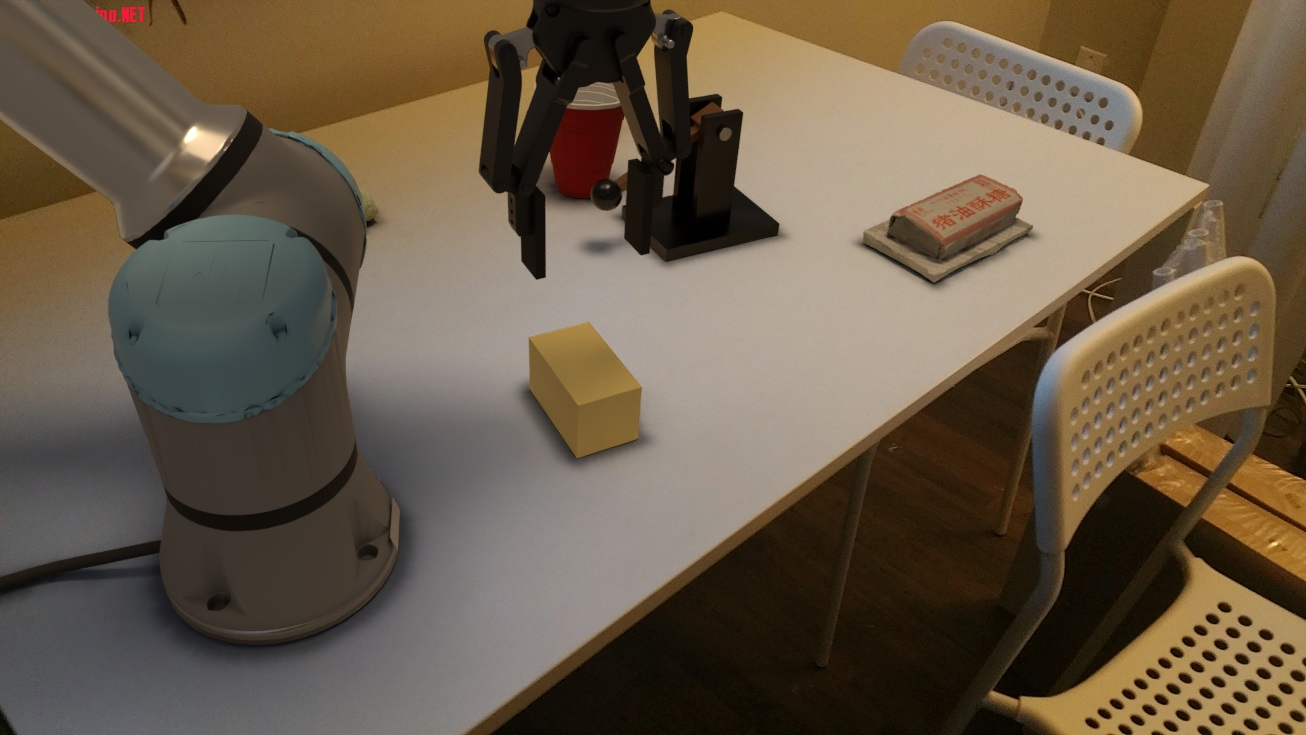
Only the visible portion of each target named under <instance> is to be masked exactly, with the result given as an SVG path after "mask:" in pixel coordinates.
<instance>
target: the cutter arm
mask: <svg viewBox="0 0 1306 735" xmlns="http://www.w3.org/2000/svg"><path fill="white" fill-rule="evenodd" d="M722 111H725V110H724V109H723V108H722V107H721V108H720V107H719V106H717V105H716V104H715V103H713V102H711V103H710V104H708V105H707V106H706V107H704V108H703V109H701V110H700V111H698V112H697V113H695V114H694V115H693V116H691V120H692V122H693V124H694V126H692V127H691V144H692V143H694V142H695V141H697V140H698V139H699V133H700V123H701V115H704V114H710V113H716V112H722ZM627 173H628V171H626V172H625V173H623V174H622V175H621V176H618V178H616V179H615V180H614V179H611V178H609V179H601V180H599V181H597V182H596V183H595V184H594V185H593V187H592V189H591V193H590V196H591V198H590V201H591V203H592V204H593V206H594V207H595V208H596V209H598V210H600V211H602V212H610V211H613V210H615V209H616V208H618V207H619V206H620V204H621V202H622V200H623V193H624V192H626V191H627Z"/></svg>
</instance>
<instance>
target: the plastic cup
mask: <svg viewBox="0 0 1306 735" xmlns="http://www.w3.org/2000/svg"><path fill="white" fill-rule="evenodd" d="M558 80H560V78H559V77H558ZM535 89H536V82H535V83H533V91H534V92H535ZM534 92H533V93H534ZM624 120H625V115H624V112H623V110H622V107H621V104H620V102H619V99H618V96H617V93H616V91H615V88H614V85H613V83H602V82H596V83H594V84H592V85H589V86H587V87H581V88H578V91H577V93H576V96H575V99H574V101H573V102H572V103H571V104H569V105H568V106H567V108H566V110H565V113H564V115H563V118H562V120H561V123H560V126H559V128H558V131H557V133H556V136H555V139H554V141H553V144H552V146H551V149H550V151H549V157H550V163H551V164H552V169H553V170H552V171H553V175H554V176H553V177H554V182H555V184H556V188H557V190H558V191H559V192H560V193H561V194H563V195H564V196H567V197H570V198H575V199H591V196H590V193H591V189H592V187H593V185H594V184H595V183H596V182H597V181H599V180H601V179H610V177H611V172H612V168H613V164H614V163H615V158H616V153H617V149H618V145H619V139H620V134H621V131H622V126H623V122H624Z"/></svg>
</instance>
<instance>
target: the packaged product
mask: <svg viewBox="0 0 1306 735" xmlns="http://www.w3.org/2000/svg"><path fill="white" fill-rule="evenodd" d="M1023 201H1024V198H1023V197H1022V195H1021V194H1020V192H1019V193H1018V191H1017V189H1015V188H1014V187H1010V186H1008V185H1007V184H1003V183H1001V182H1000V181H998V180H996V179H994V178H991V177H989V176H986V175H984V174H977V175H975V176H972V177H970V178H968V179H966V180H963V181H961V182H959V183H957V184H954V185H952V186H950V187H947V188H945V189H942V190H941V191H938V192H935V193H934V194H931V195H929V196H927V197H925V198H923V199H920V200H918V201H916V202H914V203H911V204H910V205H907V206H904V207H902V208H899V209H898V210H895V211H894V212H893V213H892V214H891V215H890V217H889V219H888V220H885V221H883V222H881V223H879V224H876V225H874V226H872V227H870V228H866V229H864V230H863V233H862V234H863V235H862V236H863V238H862V241H863V242H862V243H863V244H865V245H867V246H869V247H871V248H873V249H875V250H876V251H879V252H881V253H883V255H886V256H888V257H889V258H892V259H893V260H896V261H897V262H899V263H901V264H903V265H904V266H907V267H908V268H910V269H912V270H914V271H915V272H918V273H919V274H921V275H922V276H924V277H925V279H926V278H927V279H928V280H930V282H932V283H936V282H938V281H940V280H941V279H943V278H945V277H946V276H948V275H949V274H950V273H952V272H954V271H956V270H957V269H959V268H962V267H965V266H966V265H968V264H971V263H973V262H976V261H977V260H979V259H982V258H984V257H987V256H990V255H994V254H996V253H997V252H998V251H999V250H1001V249H1002V248H1003V247H1004V246H1005V245H1007V244H1009V243H1010V242H1012V241H1014V240H1016V239H1019V238H1020V237H1022V236H1024V235H1027V234H1029V233H1030V232H1031V231H1032V230H1033V229H1034V225H1033V224H1030V223H1029V222H1026V221H1024V220H1022V219H1021V218H1019V217H1017V215H1018V214H1019V213H1020V210H1021V207H1022V204H1023Z"/></svg>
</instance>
